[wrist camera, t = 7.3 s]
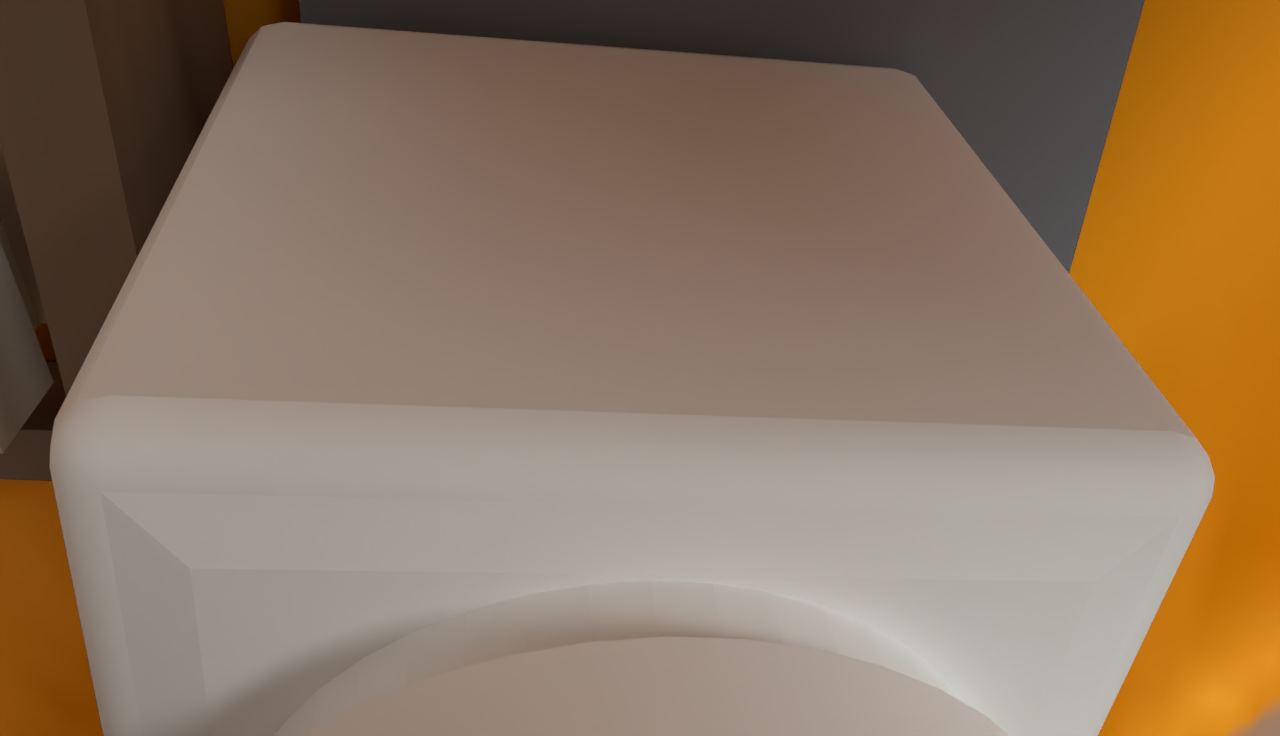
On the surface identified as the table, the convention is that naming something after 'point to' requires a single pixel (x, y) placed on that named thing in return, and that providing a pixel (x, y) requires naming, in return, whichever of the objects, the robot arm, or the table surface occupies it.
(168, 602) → the medicine bottle
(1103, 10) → the rubber mat
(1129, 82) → the table surface
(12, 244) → the offcut stack
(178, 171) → the walnut rack
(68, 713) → the table surface
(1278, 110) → the table surface
